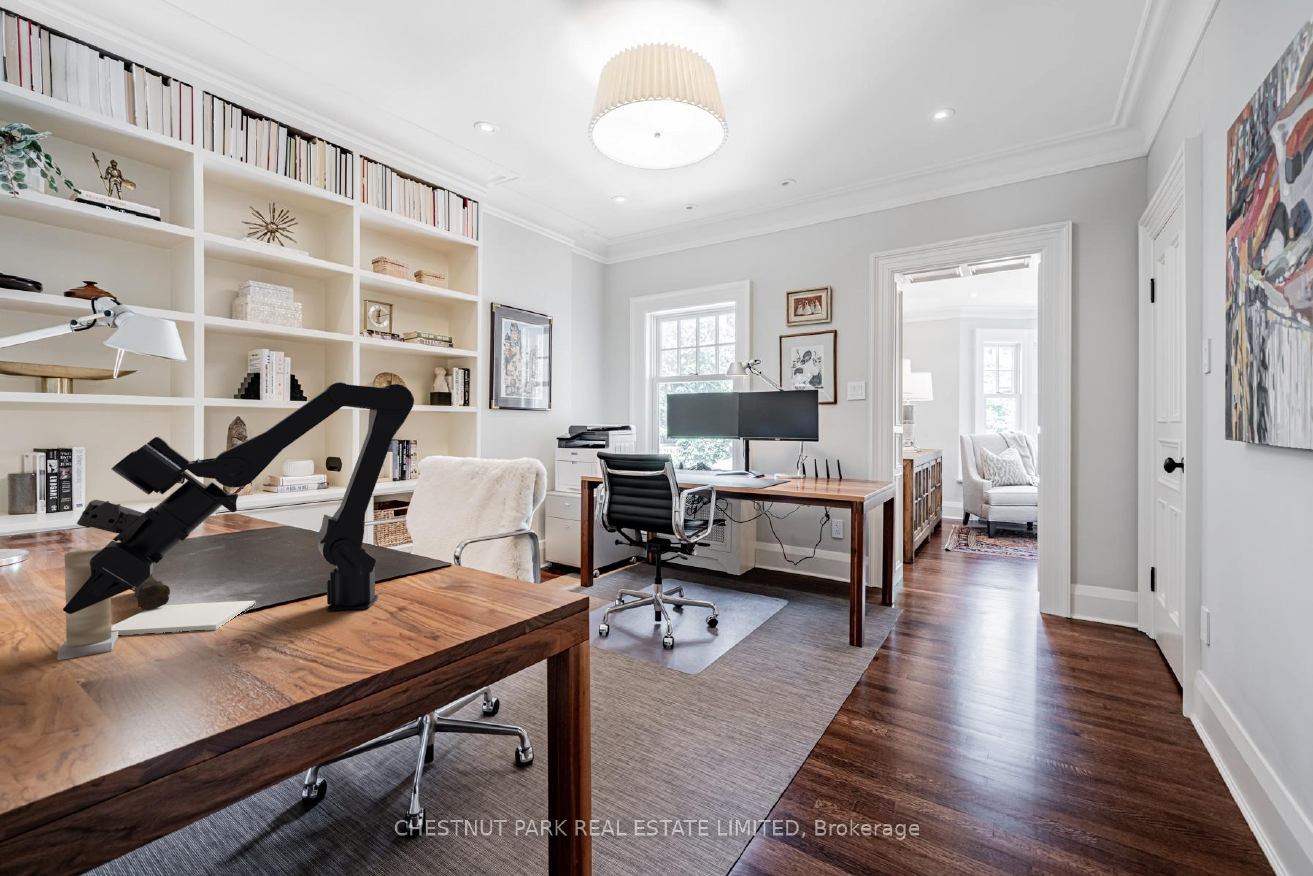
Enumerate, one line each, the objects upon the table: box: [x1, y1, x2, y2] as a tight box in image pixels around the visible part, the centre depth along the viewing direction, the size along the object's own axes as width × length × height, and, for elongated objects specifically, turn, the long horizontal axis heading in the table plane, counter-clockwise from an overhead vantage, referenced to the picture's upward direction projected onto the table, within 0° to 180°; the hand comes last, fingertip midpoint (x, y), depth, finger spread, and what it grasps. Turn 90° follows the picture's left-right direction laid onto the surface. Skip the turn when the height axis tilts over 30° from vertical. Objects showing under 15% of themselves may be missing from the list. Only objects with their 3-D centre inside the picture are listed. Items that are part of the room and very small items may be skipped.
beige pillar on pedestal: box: [57, 547, 119, 661], centre depth 79 cm, size 5×5×14 cm
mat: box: [111, 600, 256, 636], centre depth 91 cm, size 15×12×1 cm
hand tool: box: [134, 573, 171, 611], centre depth 100 cm, size 19×4×5 cm, turn 45°
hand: (74, 603), depth 78 cm, fingers open, 9 cm apart
